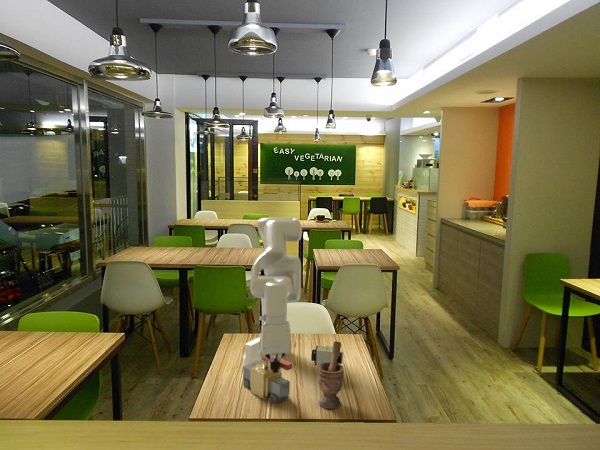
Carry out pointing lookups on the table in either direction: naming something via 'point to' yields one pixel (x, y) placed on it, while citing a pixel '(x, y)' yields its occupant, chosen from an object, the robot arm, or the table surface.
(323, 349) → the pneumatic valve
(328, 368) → the mortar and pestle
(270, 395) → the valve pipe
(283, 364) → the lever
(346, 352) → the table surface
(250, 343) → the cylinder with rectangular tab
